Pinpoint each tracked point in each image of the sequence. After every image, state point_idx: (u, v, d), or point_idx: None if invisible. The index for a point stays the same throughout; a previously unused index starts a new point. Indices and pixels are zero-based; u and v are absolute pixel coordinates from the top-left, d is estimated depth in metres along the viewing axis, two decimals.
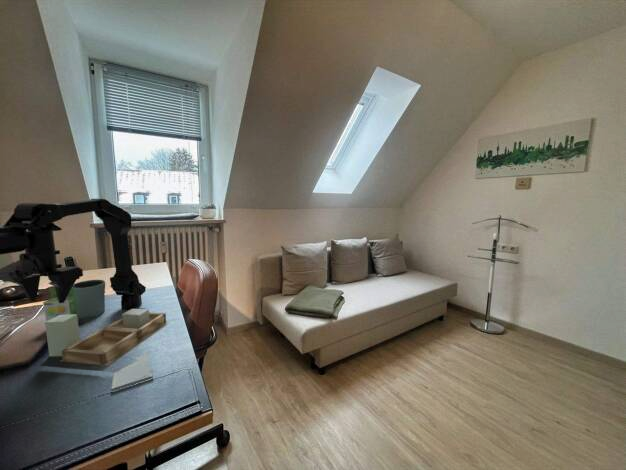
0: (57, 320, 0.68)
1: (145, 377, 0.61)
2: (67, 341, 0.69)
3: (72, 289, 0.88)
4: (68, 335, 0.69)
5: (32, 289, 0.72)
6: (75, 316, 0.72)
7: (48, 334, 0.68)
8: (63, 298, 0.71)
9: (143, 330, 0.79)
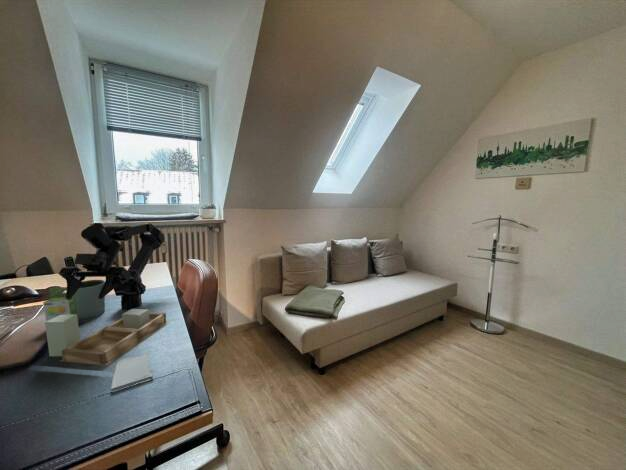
0: (57, 320, 0.68)
1: (145, 377, 0.61)
2: (67, 341, 0.69)
3: None
4: (68, 335, 0.69)
5: (73, 289, 0.79)
6: (75, 316, 0.72)
7: (48, 334, 0.68)
8: (103, 294, 0.79)
9: (143, 330, 0.79)
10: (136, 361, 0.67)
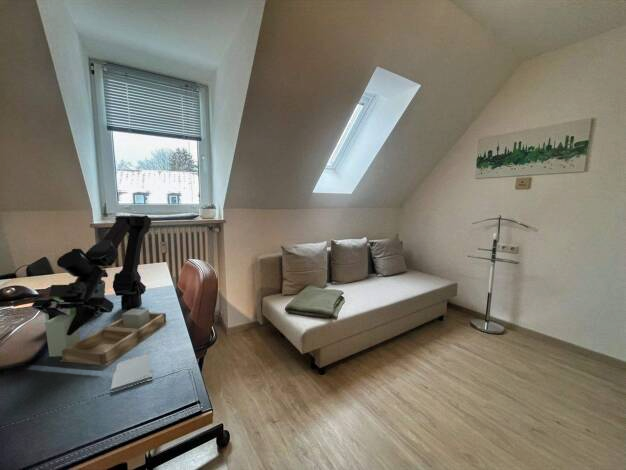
0: (57, 320, 0.68)
1: (145, 377, 0.61)
2: (66, 340, 0.69)
3: None
4: None
5: None
6: None
7: (48, 334, 0.68)
8: (73, 330, 0.70)
9: (143, 330, 0.79)
10: (136, 361, 0.67)
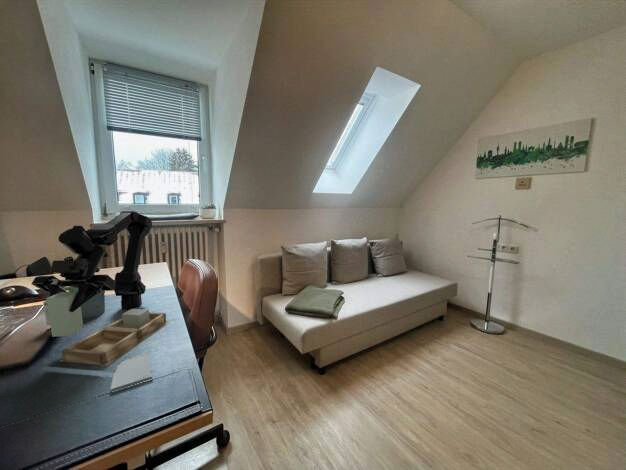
0: (59, 296, 0.67)
1: (144, 378, 0.61)
2: (69, 317, 0.68)
3: (72, 289, 0.88)
4: (70, 312, 0.68)
5: None
6: None
7: (50, 311, 0.67)
8: (75, 307, 0.69)
9: (143, 330, 0.79)
10: (136, 361, 0.67)
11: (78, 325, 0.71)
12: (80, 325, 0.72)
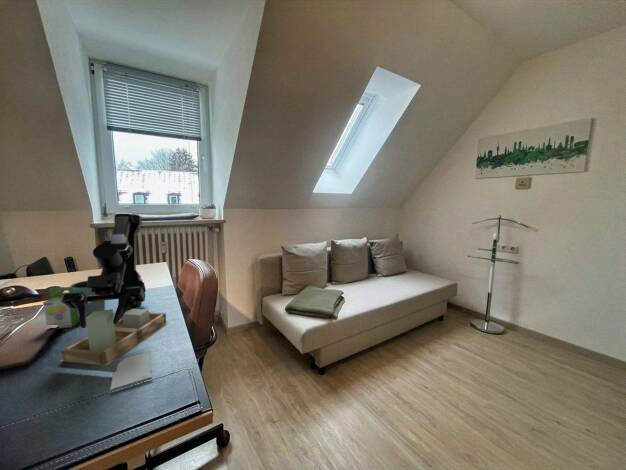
0: (98, 315, 0.69)
1: (144, 378, 0.61)
2: (108, 334, 0.70)
3: (72, 289, 0.88)
4: (109, 330, 0.71)
5: (86, 316, 0.71)
6: (112, 311, 0.73)
7: (89, 330, 0.68)
8: (118, 319, 0.72)
9: (143, 330, 0.79)
10: (136, 361, 0.67)
11: (113, 342, 0.73)
12: (115, 342, 0.74)
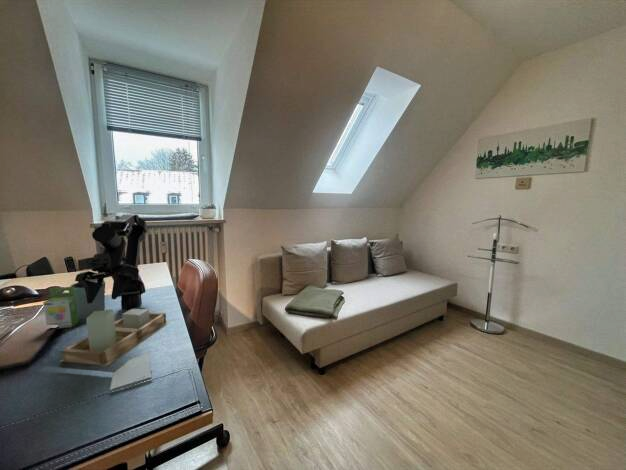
0: (98, 315, 0.69)
1: (144, 378, 0.61)
2: (109, 335, 0.70)
3: (72, 289, 0.88)
4: (109, 330, 0.71)
5: (92, 292, 0.80)
6: (112, 311, 0.73)
7: (89, 330, 0.68)
8: (116, 294, 0.77)
9: (143, 330, 0.79)
10: (136, 362, 0.67)
11: (114, 342, 0.73)
12: (115, 342, 0.74)
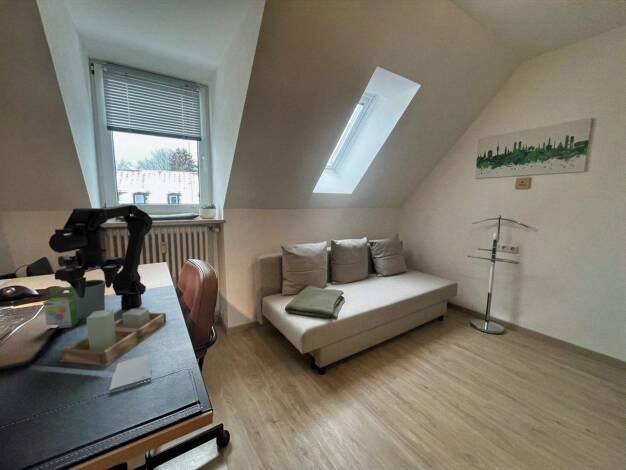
0: (98, 315, 0.69)
1: (143, 378, 0.61)
2: (109, 335, 0.70)
3: (72, 289, 0.88)
4: (109, 330, 0.71)
5: (108, 278, 0.88)
6: (112, 311, 0.73)
7: (89, 330, 0.68)
8: (79, 294, 0.78)
9: (143, 330, 0.79)
10: (136, 362, 0.67)
11: (114, 342, 0.73)
12: (115, 342, 0.74)
